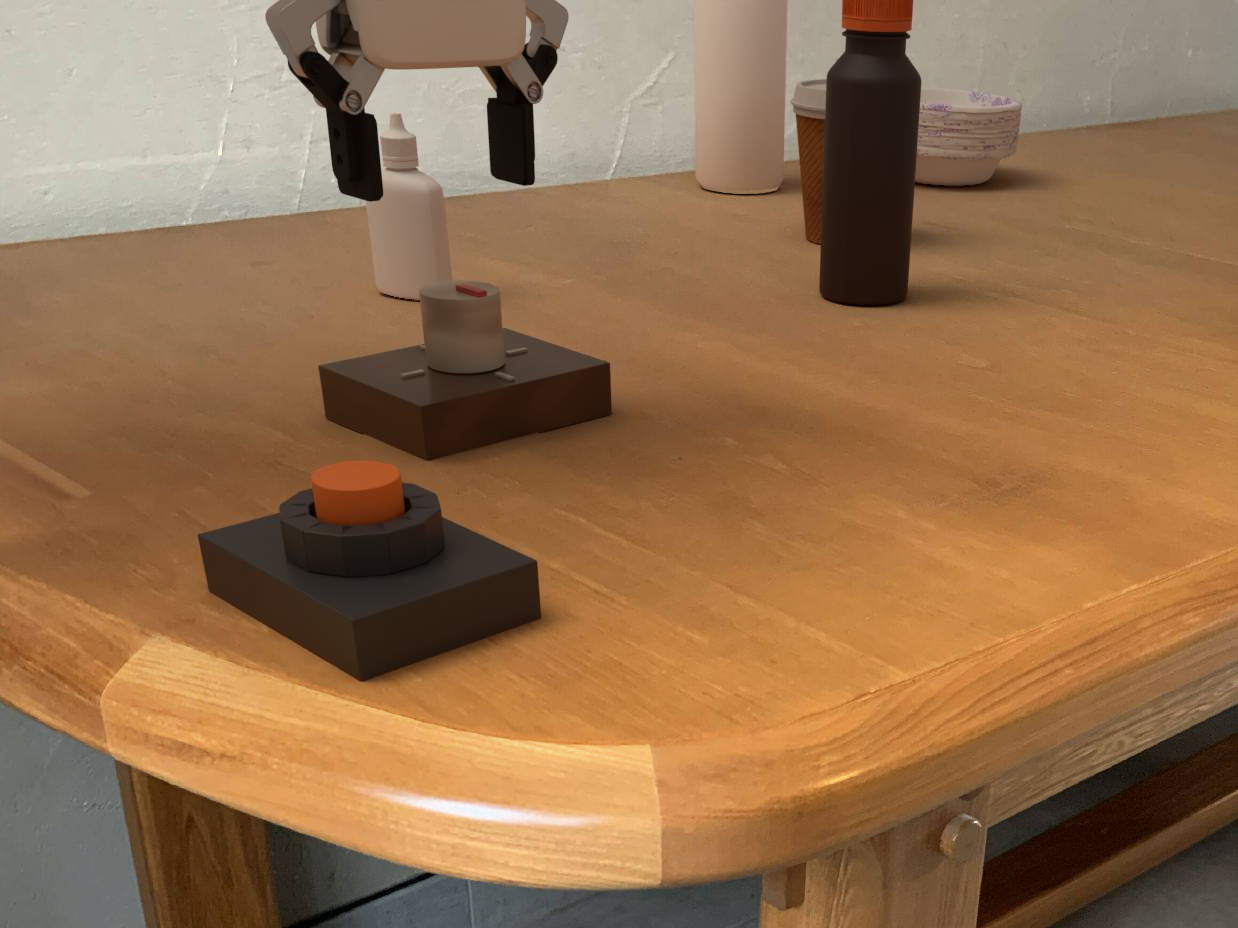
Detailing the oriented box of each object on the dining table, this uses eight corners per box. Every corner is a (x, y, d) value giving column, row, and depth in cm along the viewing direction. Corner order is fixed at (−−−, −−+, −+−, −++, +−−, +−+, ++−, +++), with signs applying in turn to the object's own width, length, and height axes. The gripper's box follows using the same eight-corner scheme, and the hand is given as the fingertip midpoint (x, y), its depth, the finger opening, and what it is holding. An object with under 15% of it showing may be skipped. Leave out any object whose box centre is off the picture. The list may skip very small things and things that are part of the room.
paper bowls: (1041, 180, 160) (1050, 96, 156) (962, 198, 150) (970, 109, 146) (922, 161, 168) (928, 81, 163) (840, 177, 158) (844, 92, 153)
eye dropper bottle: (424, 283, 114) (405, 106, 107) (460, 298, 110) (443, 116, 104) (370, 290, 112) (347, 110, 105) (405, 306, 108) (385, 120, 101)
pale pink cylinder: (777, 179, 155) (784, -176, 138) (788, 196, 148) (797, -177, 131) (692, 178, 154) (689, -180, 137) (698, 195, 147) (696, -182, 130)
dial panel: (427, 462, 81) (420, 403, 79) (325, 418, 87) (317, 362, 85) (612, 414, 89) (610, 359, 87) (508, 376, 95) (504, 324, 93)
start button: (347, 537, 61) (341, 495, 60) (300, 513, 63) (293, 472, 62) (422, 516, 64) (417, 475, 63) (374, 493, 66) (368, 454, 65)
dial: (410, 361, 86) (402, 282, 84) (473, 348, 89) (466, 271, 86) (457, 378, 84) (450, 297, 81) (520, 364, 86) (515, 285, 84)
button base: (361, 683, 60) (345, 576, 57) (208, 592, 66) (188, 493, 64) (542, 619, 65) (535, 519, 63) (384, 541, 72) (372, 447, 69)
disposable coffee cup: (781, 247, 129) (784, 89, 122) (793, 225, 136) (797, 75, 130) (892, 253, 128) (902, 95, 121) (898, 231, 136) (908, 81, 129)
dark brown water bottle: (861, 281, 119) (875, -12, 108) (925, 298, 115) (947, -5, 104) (800, 293, 115) (808, -10, 104) (864, 311, 111) (881, -2, 100)
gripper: (509, -193, 79) (525, 166, 88) (199, -221, 68) (255, 191, 77) (603, -189, 75) (609, 187, 84) (288, -219, 64) (336, 216, 73)
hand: (439, 189), depth 81 cm, fingers open, 9 cm apart
